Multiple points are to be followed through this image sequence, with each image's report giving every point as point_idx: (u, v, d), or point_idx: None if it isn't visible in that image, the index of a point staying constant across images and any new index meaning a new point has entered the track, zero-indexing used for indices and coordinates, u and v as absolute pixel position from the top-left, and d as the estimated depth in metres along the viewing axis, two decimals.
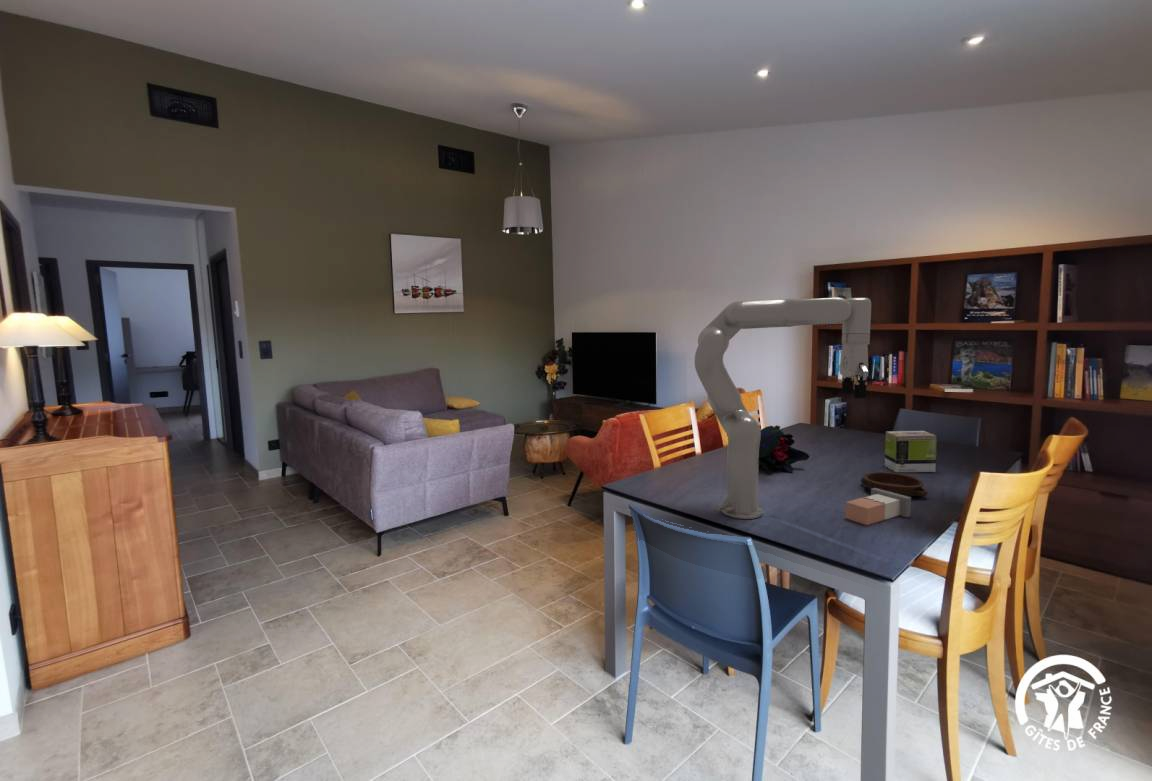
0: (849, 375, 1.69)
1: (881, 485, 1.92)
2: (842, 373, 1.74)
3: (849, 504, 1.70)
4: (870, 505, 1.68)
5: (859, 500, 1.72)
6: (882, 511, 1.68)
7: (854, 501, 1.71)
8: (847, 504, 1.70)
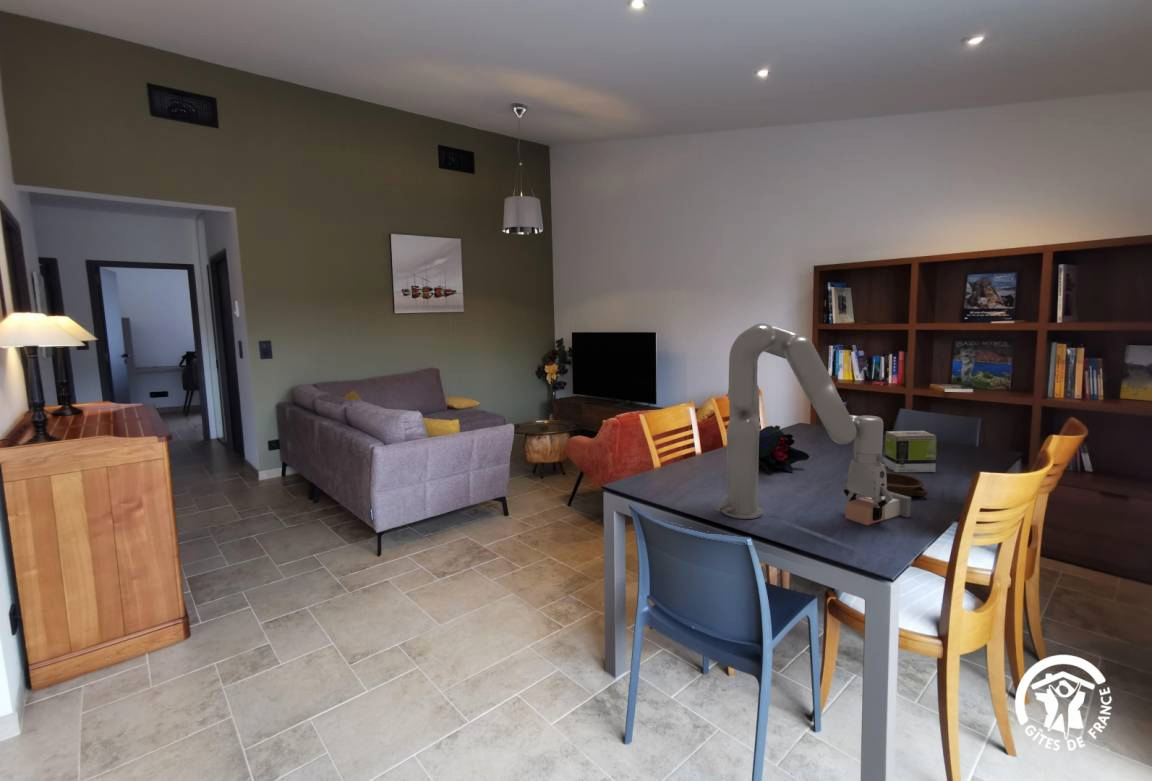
0: None
1: None
2: None
3: (849, 504, 1.70)
4: (870, 505, 1.68)
5: (859, 500, 1.72)
6: (882, 511, 1.68)
7: (854, 501, 1.71)
8: (847, 504, 1.70)
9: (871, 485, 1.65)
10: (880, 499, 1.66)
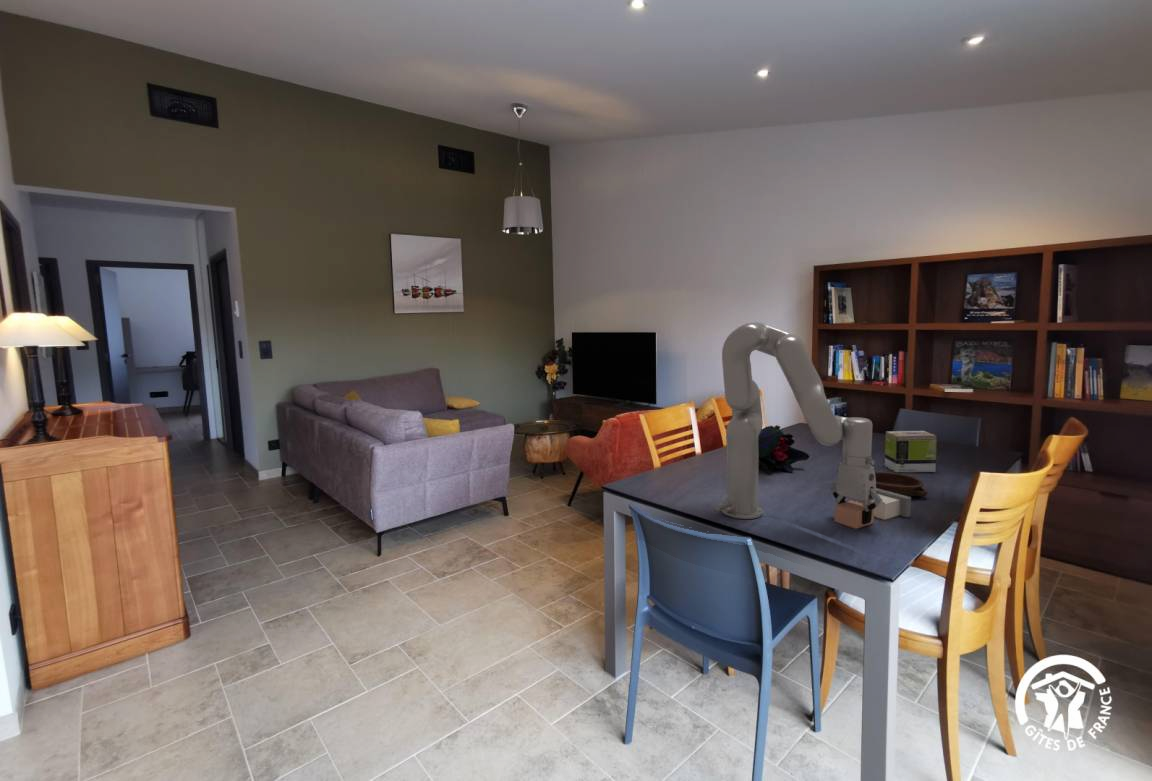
0: None
1: (881, 485, 1.92)
2: None
3: (838, 507, 1.67)
4: (859, 508, 1.65)
5: (848, 503, 1.69)
6: None
7: (843, 504, 1.69)
8: (836, 507, 1.68)
9: (860, 488, 1.62)
10: (869, 502, 1.64)
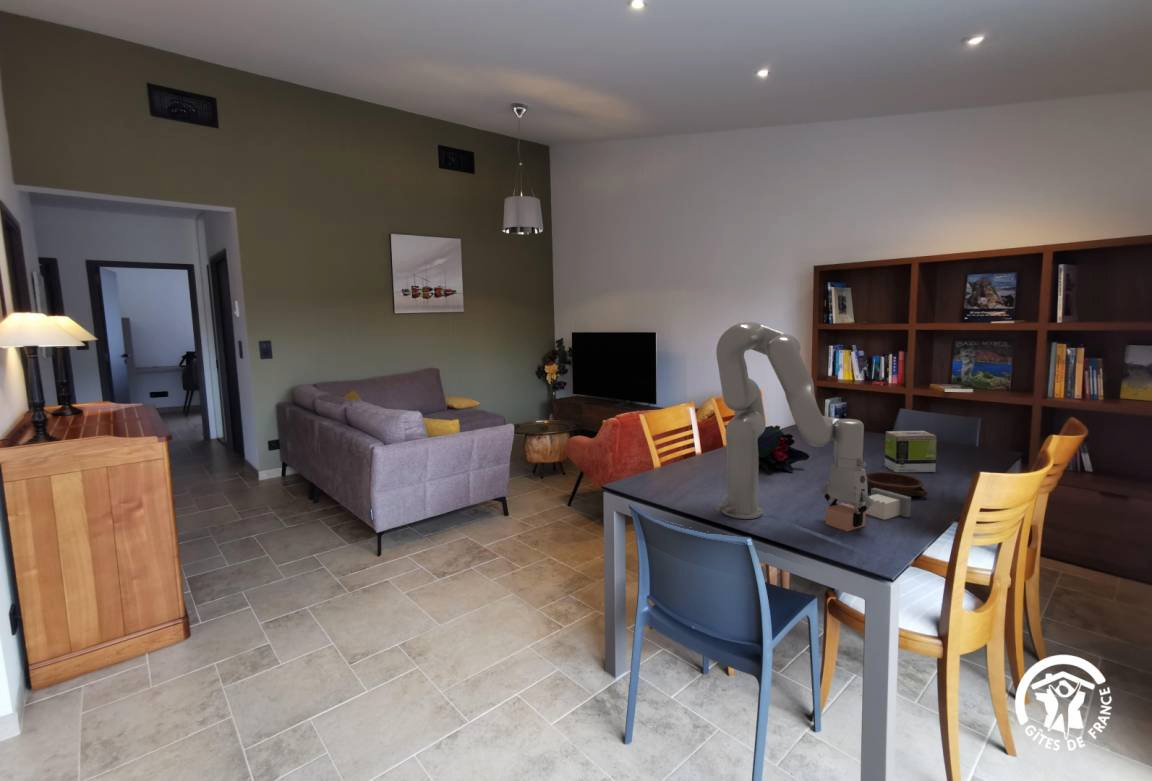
0: None
1: (881, 485, 1.92)
2: None
3: (829, 510, 1.65)
4: (850, 510, 1.63)
5: (840, 505, 1.67)
6: (863, 517, 1.64)
7: (835, 507, 1.67)
8: (827, 510, 1.66)
9: (851, 490, 1.61)
10: (861, 505, 1.62)
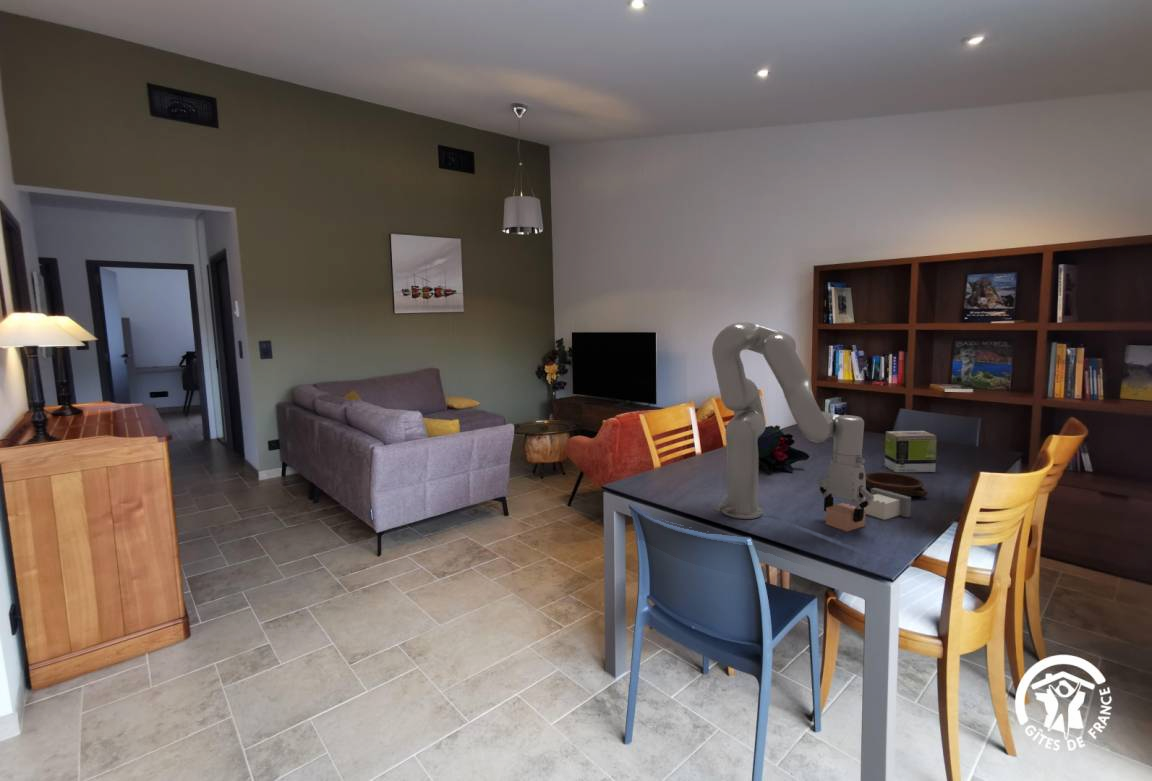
0: None
1: (881, 485, 1.92)
2: None
3: (829, 510, 1.65)
4: (850, 510, 1.63)
5: (840, 505, 1.67)
6: (863, 517, 1.64)
7: (834, 507, 1.67)
8: (827, 510, 1.66)
9: (850, 487, 1.61)
10: (861, 500, 1.61)
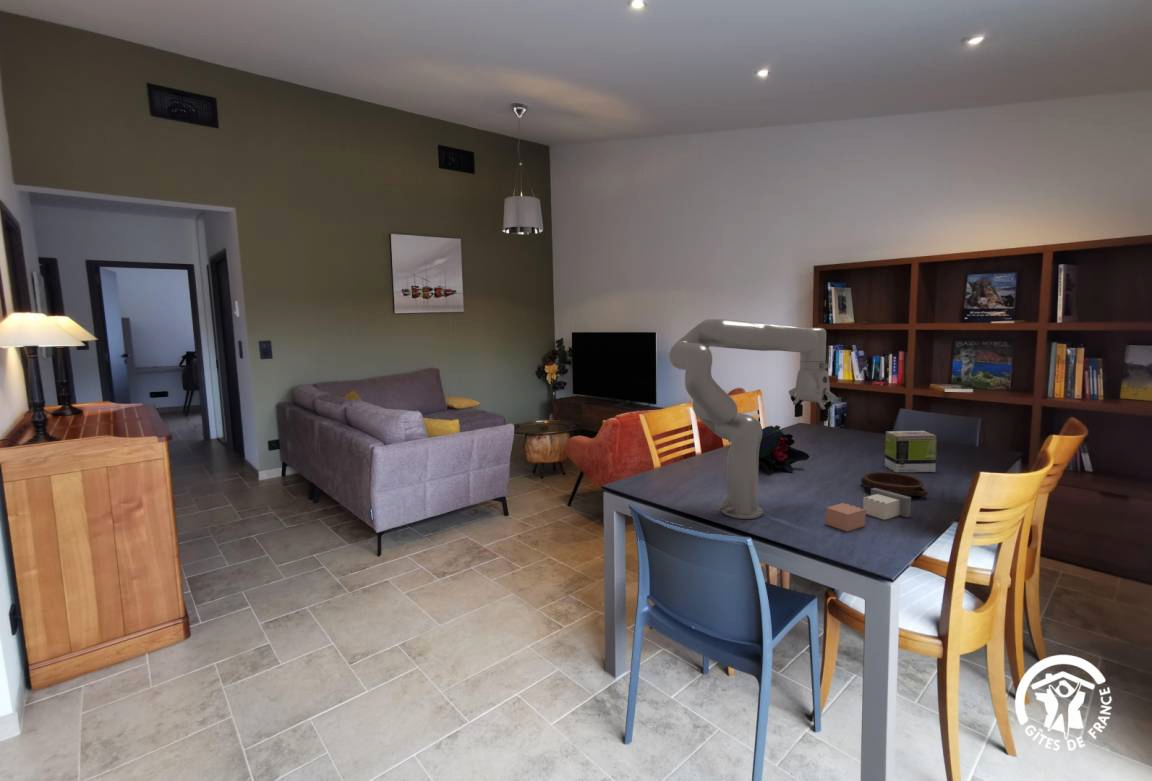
0: None
1: (881, 485, 1.92)
2: None
3: (829, 510, 1.65)
4: (850, 510, 1.63)
5: (840, 505, 1.67)
6: (863, 517, 1.64)
7: (834, 507, 1.67)
8: (827, 510, 1.66)
9: (815, 390, 1.80)
10: (826, 402, 1.81)
